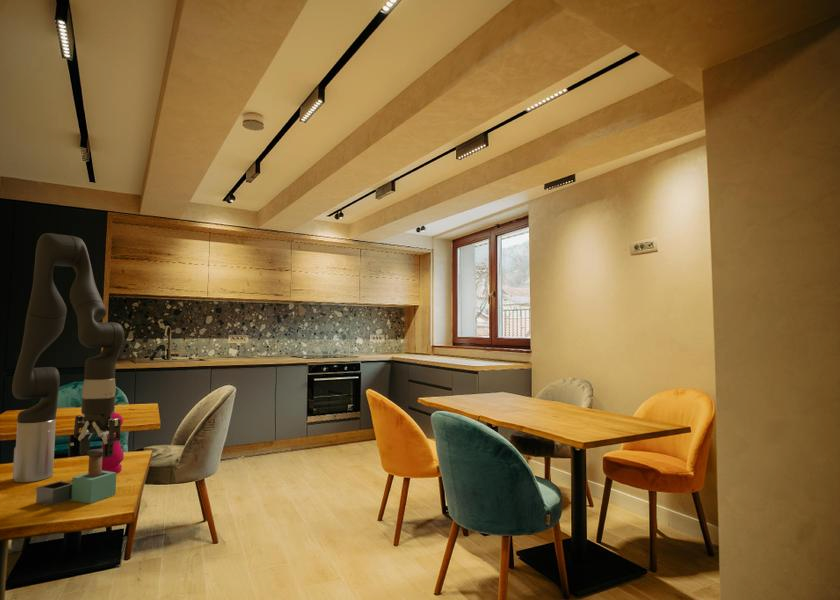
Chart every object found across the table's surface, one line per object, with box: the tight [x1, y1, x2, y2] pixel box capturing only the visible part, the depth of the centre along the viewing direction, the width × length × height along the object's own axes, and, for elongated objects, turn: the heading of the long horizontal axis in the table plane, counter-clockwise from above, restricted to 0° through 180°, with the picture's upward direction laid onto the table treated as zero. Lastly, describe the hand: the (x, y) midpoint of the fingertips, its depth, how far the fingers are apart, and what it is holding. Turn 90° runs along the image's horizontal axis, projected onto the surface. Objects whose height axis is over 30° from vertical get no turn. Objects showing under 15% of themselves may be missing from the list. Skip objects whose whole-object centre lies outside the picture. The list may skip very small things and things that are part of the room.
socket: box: [70, 471, 117, 504], centre depth 129 cm, size 7×7×6 cm
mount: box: [35, 480, 72, 507], centre depth 126 cm, size 6×6×4 cm
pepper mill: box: [100, 409, 125, 474], centre depth 152 cm, size 7×7×20 cm
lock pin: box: [86, 448, 103, 478], centre depth 129 cm, size 4×4×12 cm
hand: (95, 455), depth 130 cm, fingers open, 8 cm apart
